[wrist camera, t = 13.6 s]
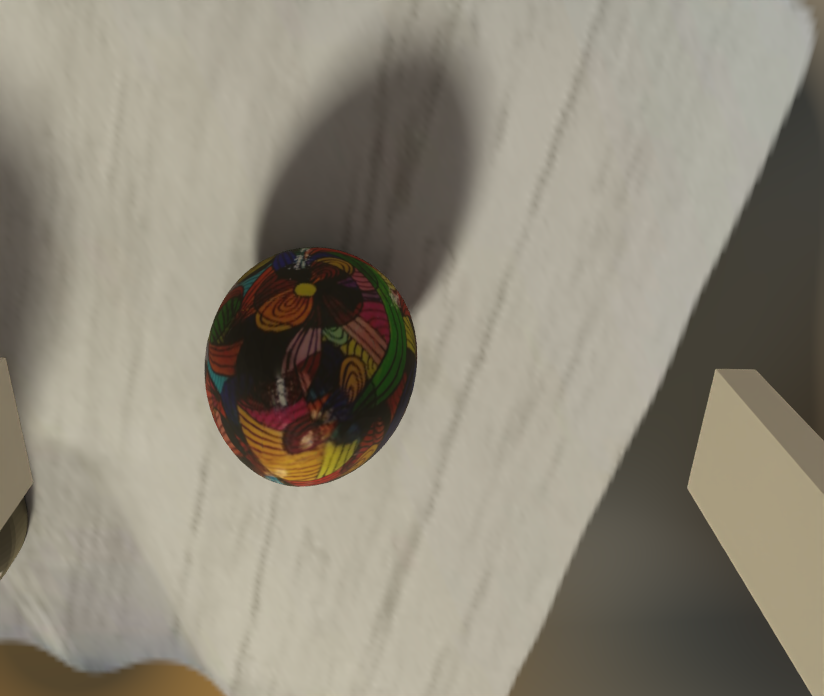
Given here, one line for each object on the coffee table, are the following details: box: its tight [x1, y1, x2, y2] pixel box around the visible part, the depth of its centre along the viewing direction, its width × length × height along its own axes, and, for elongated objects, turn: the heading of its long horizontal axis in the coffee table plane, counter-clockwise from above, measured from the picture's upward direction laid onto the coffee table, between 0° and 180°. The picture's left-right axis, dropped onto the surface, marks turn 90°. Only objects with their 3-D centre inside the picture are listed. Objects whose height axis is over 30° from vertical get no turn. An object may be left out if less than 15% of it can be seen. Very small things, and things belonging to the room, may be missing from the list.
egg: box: [205, 247, 417, 487], centre depth 38 cm, size 11×11×15 cm
